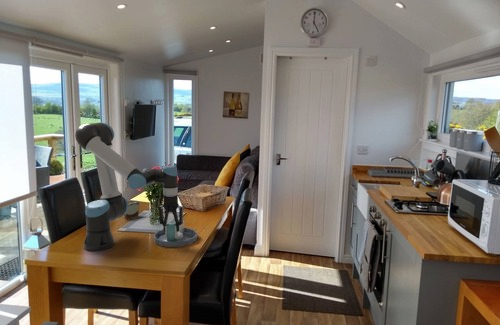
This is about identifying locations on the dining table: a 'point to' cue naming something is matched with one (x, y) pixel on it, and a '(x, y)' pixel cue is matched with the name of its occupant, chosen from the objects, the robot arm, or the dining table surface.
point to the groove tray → (182, 242)
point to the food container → (132, 209)
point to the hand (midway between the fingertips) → (171, 236)
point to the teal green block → (171, 232)
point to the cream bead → (181, 227)
